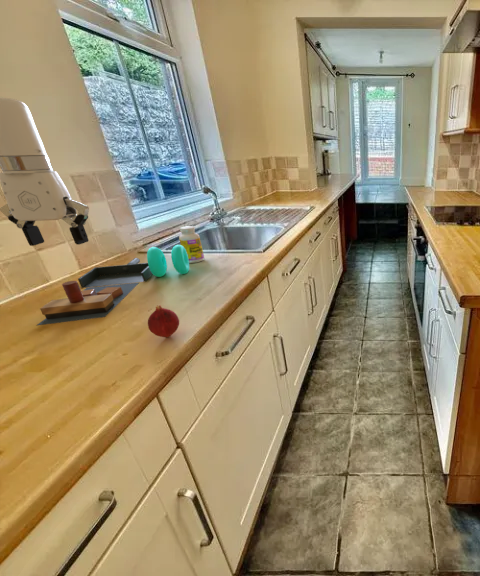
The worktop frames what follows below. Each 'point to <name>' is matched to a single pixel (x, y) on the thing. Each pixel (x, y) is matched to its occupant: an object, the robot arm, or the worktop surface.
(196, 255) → the supplement bottle
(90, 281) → the dustpan
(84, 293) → the clod
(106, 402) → the worktop surface
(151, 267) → the donuts
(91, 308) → the wooden board with knob
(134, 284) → the mat
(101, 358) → the worktop surface
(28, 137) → the robot arm
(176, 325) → the onion
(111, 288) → the clod
